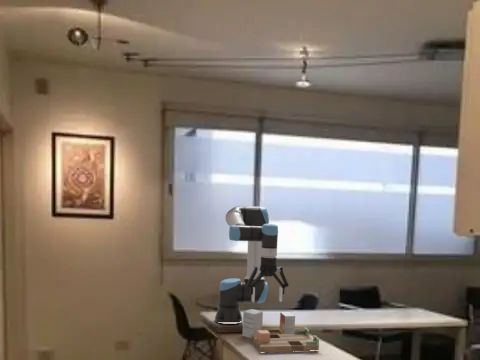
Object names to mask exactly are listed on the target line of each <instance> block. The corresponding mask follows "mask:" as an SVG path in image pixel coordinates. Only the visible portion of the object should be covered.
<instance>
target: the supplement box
mask: <svg viewBox="0 0 480 360" xmlns="http://www.w3.org/2000/svg"><path fill="white" fill-rule="evenodd" d="M263 315H264V313H263V311H262V310H258V309H254V308H250V309H247V310H244V311H243V314H242V337H245V338H248V339H251V340H252V335H253V334H257V330H263V319H264V318H263Z"/></svg>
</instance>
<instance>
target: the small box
mask: <svg viewBox="0 0 480 360" xmlns="http://www.w3.org/2000/svg"><path fill="white" fill-rule="evenodd" d="M279 313H280V314H279V330H278V331H279V334H294V331H296V329H295V328H296V327H295V326H296V316H295V315H294V314H293V313H292V312H289V311H285V312H283V311H282V312H279Z"/></svg>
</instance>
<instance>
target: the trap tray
mask: <svg viewBox="0 0 480 360" xmlns="http://www.w3.org/2000/svg"><path fill="white" fill-rule="evenodd" d="M251 342H252V344H253V345H254V346H255V348H256V349H257V350H258V351H259V353H260V352H285V353H296V352H295V351H310V350H319V349H320V338H319V337H318V336H317V335H316V334H315V335H314V334H313V336H312V338H311V337H310V329H308V328H307V327H304V328H303V330H294V334H281V333H270V342H259V341H258V339H257V334H253V335H252V339H251ZM293 351H294V352H293Z"/></svg>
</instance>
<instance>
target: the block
mask: <svg viewBox="0 0 480 360" xmlns="http://www.w3.org/2000/svg"><path fill="white" fill-rule="evenodd" d="M270 334H271V332H270V331H269V330H268V329H262V330H257V339H258V341H259V342H270Z"/></svg>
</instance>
